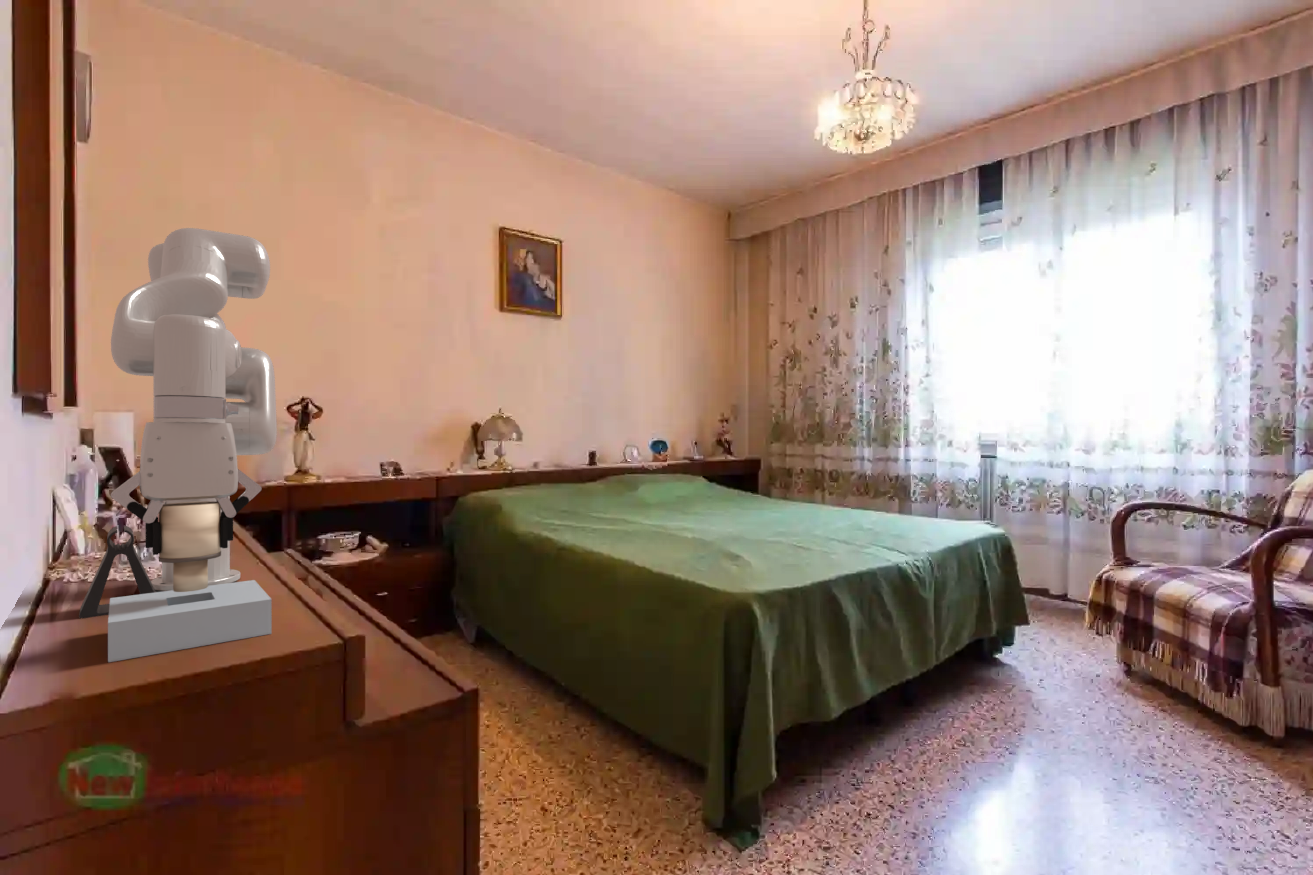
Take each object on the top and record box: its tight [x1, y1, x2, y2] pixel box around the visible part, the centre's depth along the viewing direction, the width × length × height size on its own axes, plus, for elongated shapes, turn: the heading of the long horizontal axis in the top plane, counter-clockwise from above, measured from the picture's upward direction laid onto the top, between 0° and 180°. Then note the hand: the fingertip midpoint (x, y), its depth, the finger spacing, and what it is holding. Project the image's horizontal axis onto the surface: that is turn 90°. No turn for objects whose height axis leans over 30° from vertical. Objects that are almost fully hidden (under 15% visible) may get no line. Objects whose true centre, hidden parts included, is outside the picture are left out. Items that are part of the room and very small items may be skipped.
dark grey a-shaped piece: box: [78, 525, 157, 619], centre depth 93 cm, size 9×6×12 cm, turn 130°
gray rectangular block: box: [107, 579, 273, 663], centre depth 82 cm, size 14×16×4 cm
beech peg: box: [158, 501, 221, 592], centre depth 81 cm, size 6×6×11 cm
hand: (190, 548), depth 81 cm, fingers closed on beech peg, 6 cm apart
